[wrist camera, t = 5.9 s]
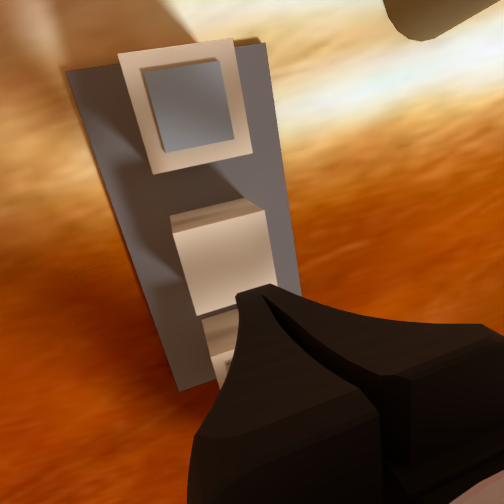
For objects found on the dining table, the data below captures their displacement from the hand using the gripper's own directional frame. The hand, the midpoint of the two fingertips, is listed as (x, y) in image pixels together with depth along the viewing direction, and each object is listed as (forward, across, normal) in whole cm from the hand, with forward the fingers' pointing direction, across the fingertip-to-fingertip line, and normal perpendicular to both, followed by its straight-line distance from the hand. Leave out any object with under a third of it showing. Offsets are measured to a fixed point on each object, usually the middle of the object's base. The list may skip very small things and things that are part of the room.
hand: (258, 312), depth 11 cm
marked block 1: (+9, 0, -7) cm, 12 cm away
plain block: (+9, 0, 0) cm, 9 cm away
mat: (+9, 0, 0) cm, 9 cm away
